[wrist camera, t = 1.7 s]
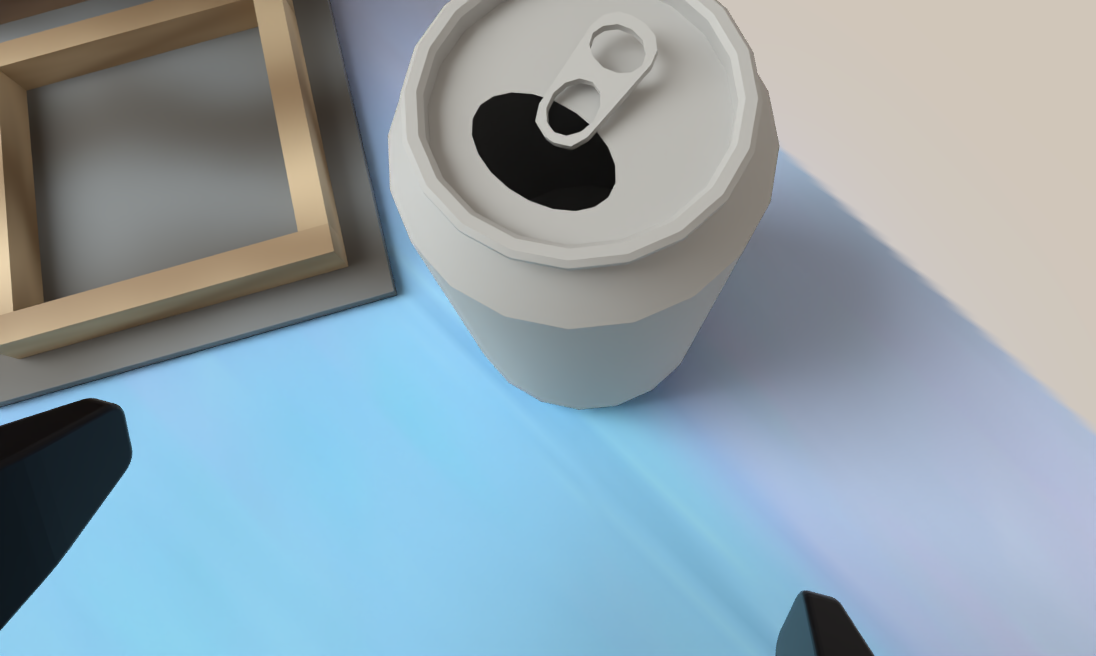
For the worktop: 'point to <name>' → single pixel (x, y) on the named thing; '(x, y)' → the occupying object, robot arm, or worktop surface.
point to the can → (582, 181)
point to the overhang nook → (173, 182)
